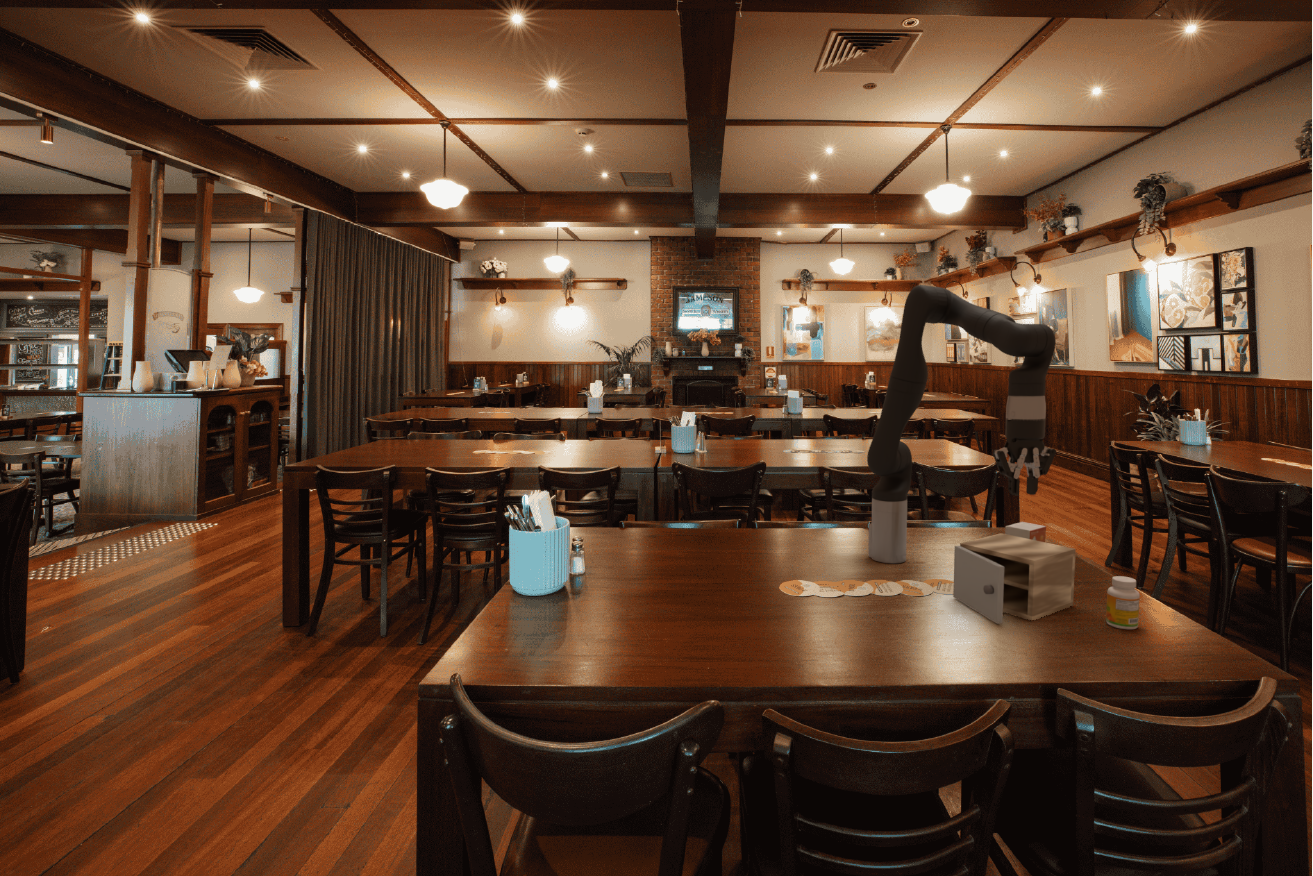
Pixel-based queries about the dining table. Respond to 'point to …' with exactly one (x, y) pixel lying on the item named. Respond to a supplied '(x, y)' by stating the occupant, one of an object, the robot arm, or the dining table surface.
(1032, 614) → the cabinet
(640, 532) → the dining table surface
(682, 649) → the dining table surface
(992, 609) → the door
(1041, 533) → the small box
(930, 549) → the dining table surface
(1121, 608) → the supplement bottle
